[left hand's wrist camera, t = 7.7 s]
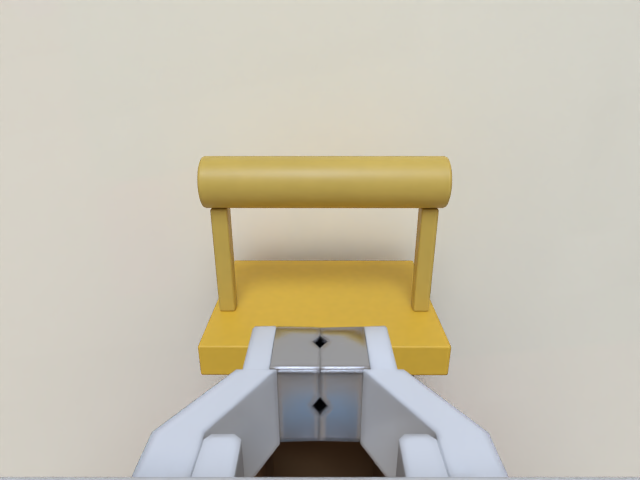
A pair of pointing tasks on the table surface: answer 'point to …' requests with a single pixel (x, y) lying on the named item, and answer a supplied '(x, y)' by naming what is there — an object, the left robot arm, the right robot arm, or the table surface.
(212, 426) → the left robot arm
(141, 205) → the table surface
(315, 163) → the drawer
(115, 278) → the table surface
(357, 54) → the table surface
